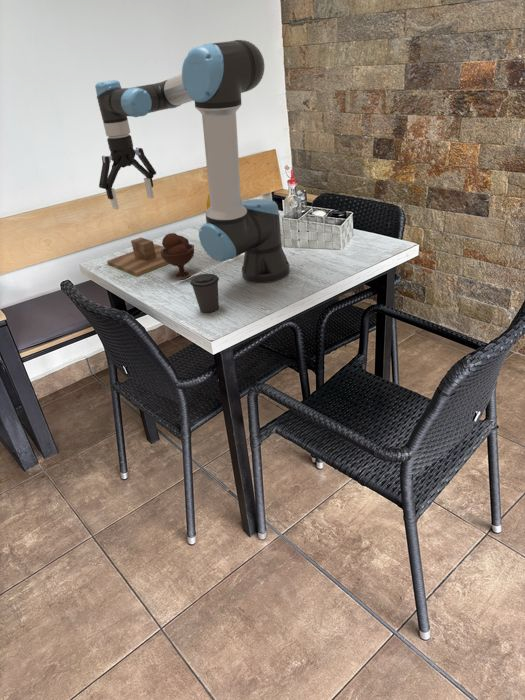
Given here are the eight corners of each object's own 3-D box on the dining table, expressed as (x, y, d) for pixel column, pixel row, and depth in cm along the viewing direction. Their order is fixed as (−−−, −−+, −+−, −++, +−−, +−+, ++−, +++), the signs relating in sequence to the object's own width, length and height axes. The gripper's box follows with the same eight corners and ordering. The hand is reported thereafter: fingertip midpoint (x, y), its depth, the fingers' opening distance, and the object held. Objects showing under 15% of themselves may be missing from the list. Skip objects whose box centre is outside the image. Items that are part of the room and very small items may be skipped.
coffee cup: (204, 318, 145) (198, 285, 140) (190, 309, 151) (183, 277, 146) (229, 308, 149) (224, 276, 144) (214, 300, 155) (208, 268, 150)
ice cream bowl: (194, 283, 168) (185, 237, 160) (161, 283, 170) (151, 239, 163) (203, 269, 177) (195, 226, 169) (172, 270, 179) (163, 227, 172)
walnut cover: (185, 257, 187) (181, 237, 183) (137, 277, 176) (131, 255, 172) (154, 247, 200) (150, 228, 196) (108, 264, 189) (102, 244, 185)
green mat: (189, 259, 187) (189, 257, 186) (136, 280, 175) (136, 278, 174) (155, 248, 202) (155, 246, 201) (104, 267, 189) (104, 265, 189)
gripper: (146, 127, 175) (158, 192, 186) (76, 143, 162) (94, 211, 173) (158, 129, 170) (170, 195, 182) (88, 144, 157) (106, 215, 168)
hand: (133, 203), depth 177 cm, fingers open, 13 cm apart
